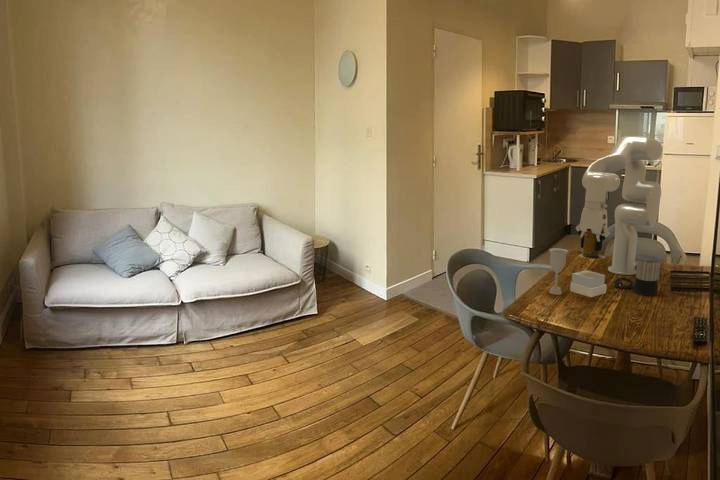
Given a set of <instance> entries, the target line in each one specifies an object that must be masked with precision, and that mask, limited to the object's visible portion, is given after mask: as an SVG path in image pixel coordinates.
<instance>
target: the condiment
mask: <svg viewBox="0 0 720 480" xmlns="http://www.w3.org/2000/svg"><path fill="white" fill-rule="evenodd" d="M599 236H600V235H599ZM596 241H597V238H596V234H593V233H592V231H591V229H587V231H586V233H585V235H584V245H583V248H582V254H579V255H578V257H581V258H587V259H593V260H602V259H604V258H606V256H604V255H600V254H599V253H600V251H595V245H596Z"/></svg>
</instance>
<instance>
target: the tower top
mask: <svg viewBox="0 0 720 480" xmlns="http://www.w3.org/2000/svg"><path fill="white" fill-rule="evenodd" d="M605 278H606V275H605V274H602V273H599V272H595V271H591V270H587V269H586V270H585V269H584V270H582V271H577V272H574V273H572V277H571V283H574V284H577V285H581V286H584V287H588V288H594V287H597V286H601V285H604V284H605V280H606V279H605Z"/></svg>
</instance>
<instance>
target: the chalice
mask: <svg viewBox="0 0 720 480" xmlns="http://www.w3.org/2000/svg"><path fill="white" fill-rule="evenodd" d="M549 253H550V254H549V255H550V256H549V263H550V266H551V269H552V271H553V272H554V273H555V275H554V281H553V282H554V285H553V286H551V287H550V289H549V291H548V293H549V294H551V295H555V296H556V295H562V294H563V292H562V288H561V287H560V286H558V283H559V282H560V281H559V278H560V277H559V273H562V271H563V269H564V268H565V265H566V263H567V254H568V253H569V250H568V249H564V248H558V247H557V248H555V247H554V248H553V247H552V248H549Z"/></svg>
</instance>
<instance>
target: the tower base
mask: <svg viewBox="0 0 720 480" xmlns="http://www.w3.org/2000/svg"><path fill="white" fill-rule="evenodd" d="M569 286H570V287H569V288H570V289H569V291H570V292H572V293H575V294H578V295H581V296H585V297H588V298H595V297H598V296H600V295H605V294H607V287H608V286H607V284H605V283H604V285H601V286H597V287H594V288H588V287H584V286H581V285H577V284H574V283H572V282H570V285H569Z"/></svg>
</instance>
